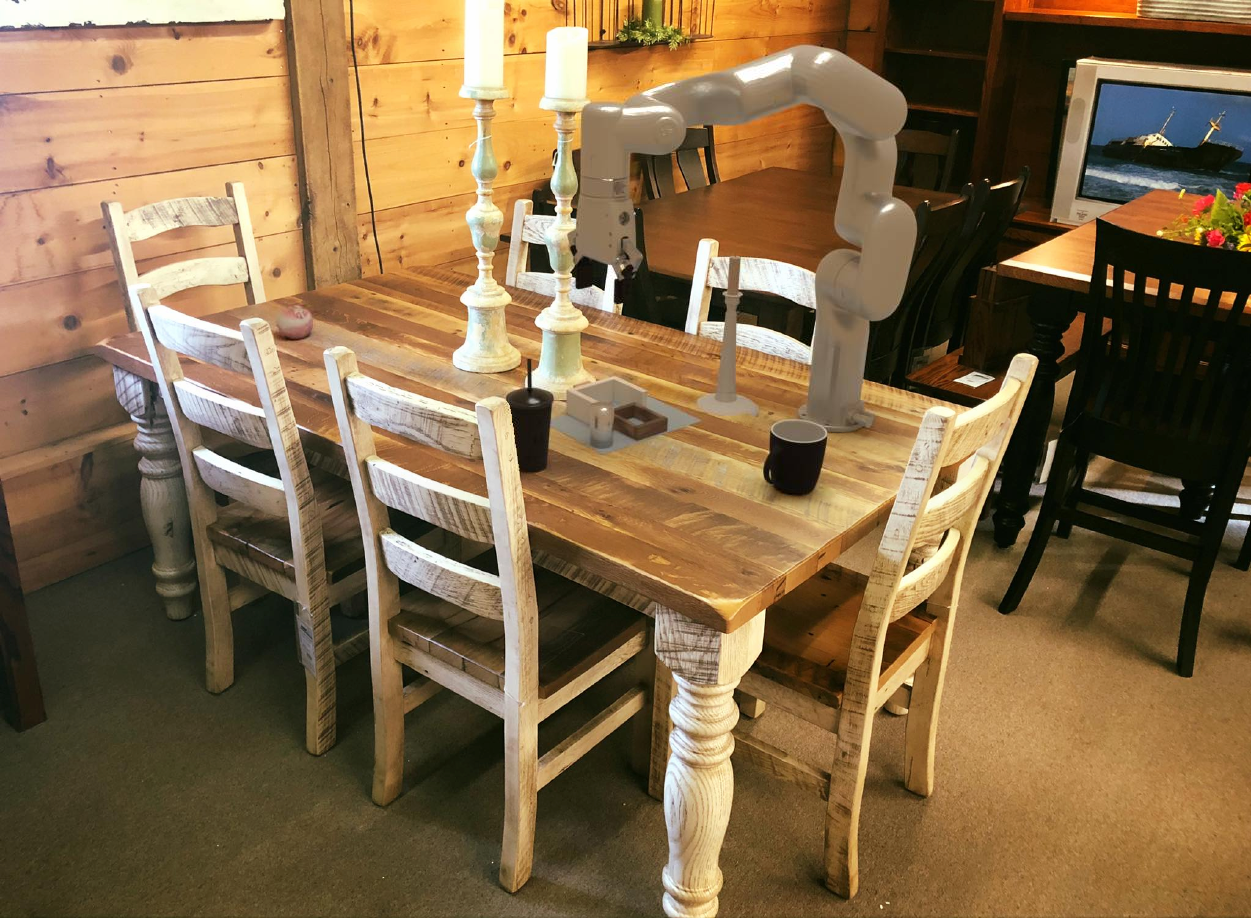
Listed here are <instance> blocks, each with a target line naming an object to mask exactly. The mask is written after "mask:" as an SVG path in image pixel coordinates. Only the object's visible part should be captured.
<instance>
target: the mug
mask: <svg viewBox="0 0 1251 918" xmlns="http://www.w3.org/2000/svg"><path fill="white" fill-rule="evenodd" d="M827 441H828V431H826V429H825V428H824V427H822V426H821V425H819V424H817V423H814V422H811V421H806V420H799V419H797V418H796V419H795V418H794V419H793V418H791V419H784V420H779V421H776V422H774V423H773V424H772V425H771V427H770V431H769V444H768V445H769V452H768V455H767V456H766V458H765V461H764V463H763V467H762V474H763V478H764V481H766V483H767V484H769V485H771V486H773V487H774V489H775V490H776V491H777V492H779V493H780V494H783V495H786V496H791V497H792V496H793V497H801V496H802V497H803V496H806V495H809V494H811V493H812V492H813V491H814V490H815V488H816V486H817V484H818V481H819V478H820V475H821V473H822V468H823V463H824V460H825V454H826V449H827V443H828V442H827Z"/></svg>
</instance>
